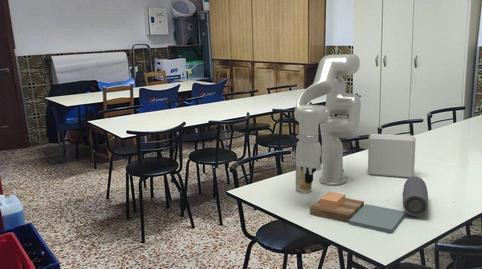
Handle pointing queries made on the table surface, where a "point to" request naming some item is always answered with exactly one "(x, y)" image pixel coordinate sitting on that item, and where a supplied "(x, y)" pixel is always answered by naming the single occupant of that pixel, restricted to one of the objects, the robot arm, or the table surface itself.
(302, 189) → the skincare box
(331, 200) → the tile
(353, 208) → the wooden board
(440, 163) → the table surface
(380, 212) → the mat
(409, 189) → the bluetooth speaker
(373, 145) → the bevelled white case
